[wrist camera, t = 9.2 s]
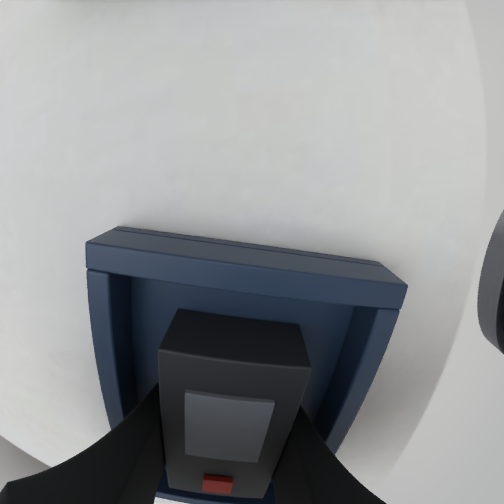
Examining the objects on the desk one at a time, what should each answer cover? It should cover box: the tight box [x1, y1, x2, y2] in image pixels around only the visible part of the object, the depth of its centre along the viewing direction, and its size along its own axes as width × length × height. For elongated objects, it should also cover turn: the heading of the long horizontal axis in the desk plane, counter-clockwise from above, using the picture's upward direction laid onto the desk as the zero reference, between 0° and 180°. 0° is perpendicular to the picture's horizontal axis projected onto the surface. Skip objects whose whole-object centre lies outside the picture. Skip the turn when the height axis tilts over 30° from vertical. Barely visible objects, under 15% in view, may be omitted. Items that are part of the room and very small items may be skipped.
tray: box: [86, 226, 408, 504], centre depth 9 cm, size 12×8×2 cm, turn 172°
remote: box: [158, 309, 312, 498], centre depth 8 cm, size 4×7×2 cm, turn 172°
